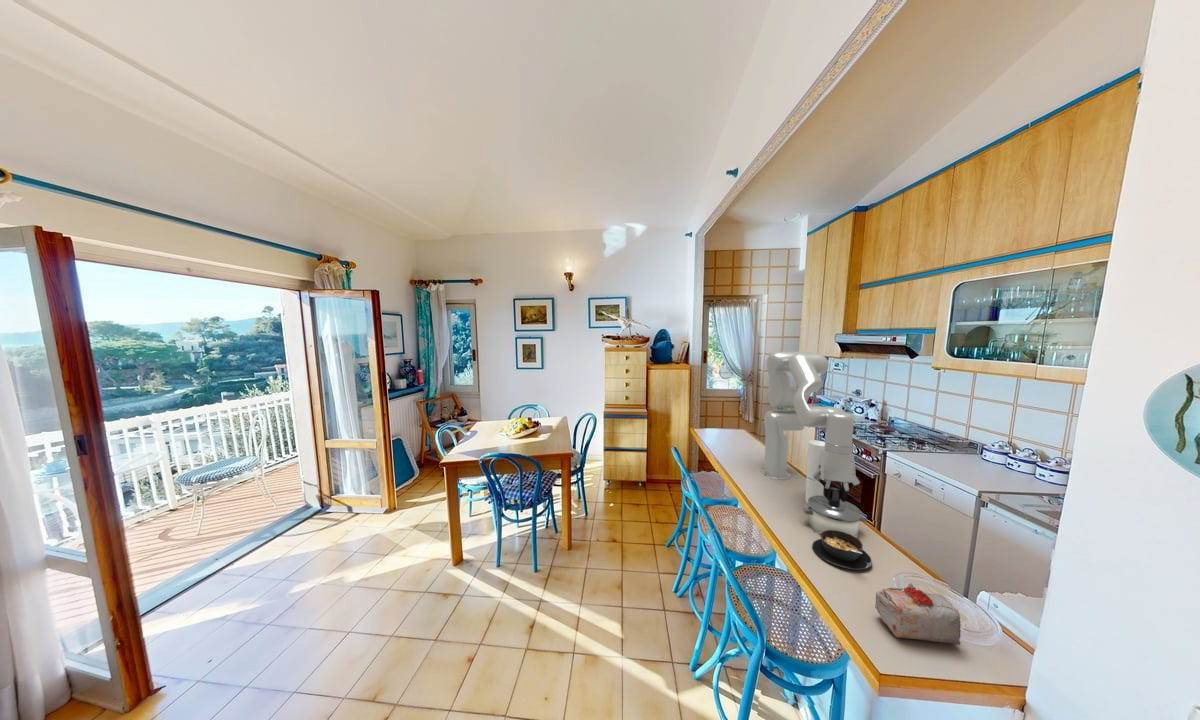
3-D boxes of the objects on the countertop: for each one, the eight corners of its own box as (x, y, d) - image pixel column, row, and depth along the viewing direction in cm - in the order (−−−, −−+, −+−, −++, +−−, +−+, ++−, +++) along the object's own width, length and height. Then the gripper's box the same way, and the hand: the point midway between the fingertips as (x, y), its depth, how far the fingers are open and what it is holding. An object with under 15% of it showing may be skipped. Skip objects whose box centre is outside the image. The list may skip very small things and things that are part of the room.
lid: (802, 496, 125) (803, 477, 125) (849, 502, 121) (851, 483, 120) (816, 517, 111) (817, 497, 110) (870, 525, 106) (871, 504, 106)
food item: (894, 642, 74) (897, 601, 73) (871, 612, 82) (873, 575, 81) (964, 651, 72) (969, 608, 71) (933, 619, 80) (937, 581, 79)
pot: (797, 514, 125) (798, 496, 125) (854, 522, 120) (856, 503, 120) (809, 536, 112) (810, 516, 111) (874, 546, 107) (875, 525, 106)
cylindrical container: (825, 510, 128) (829, 447, 126) (804, 504, 133) (807, 443, 130) (826, 502, 134) (830, 442, 132) (806, 497, 138) (809, 439, 136)
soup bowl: (867, 551, 105) (868, 528, 104) (876, 583, 91) (878, 558, 91) (811, 535, 113) (812, 515, 112) (812, 564, 99) (814, 540, 99)
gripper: (861, 446, 115) (857, 497, 116) (806, 442, 120) (804, 490, 121) (872, 454, 108) (868, 508, 109) (813, 449, 112) (810, 501, 114)
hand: (834, 498), depth 115 cm, fingers open, 3 cm apart
